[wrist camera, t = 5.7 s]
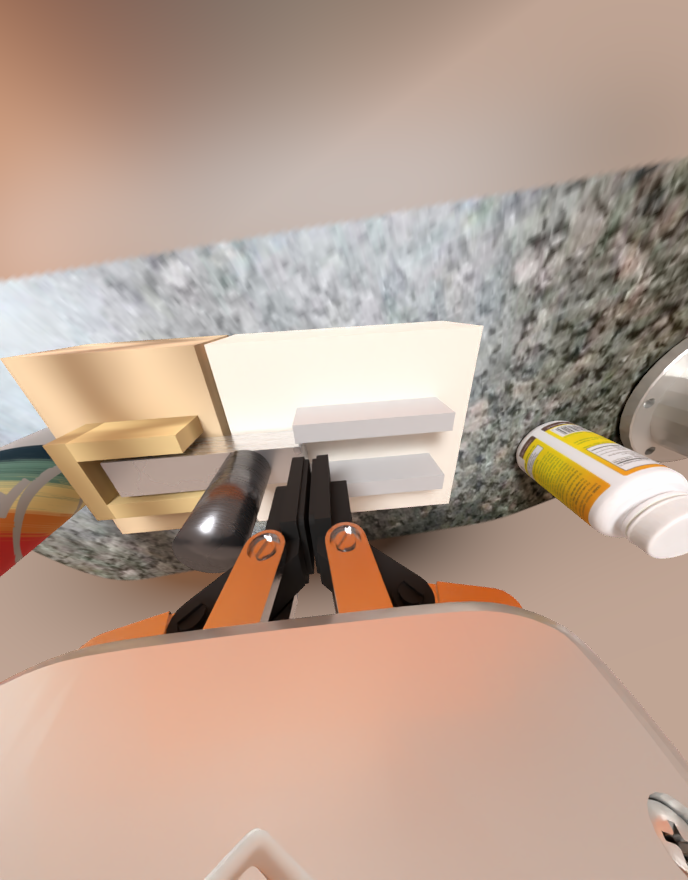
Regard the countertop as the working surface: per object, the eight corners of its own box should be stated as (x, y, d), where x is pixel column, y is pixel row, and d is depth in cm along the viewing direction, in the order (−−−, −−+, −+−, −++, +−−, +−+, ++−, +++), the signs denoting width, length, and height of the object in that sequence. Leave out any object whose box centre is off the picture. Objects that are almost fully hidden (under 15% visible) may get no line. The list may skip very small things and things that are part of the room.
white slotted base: (442, 320, 17) (515, 329, 11) (424, 465, 23) (464, 528, 16) (235, 334, 16) (178, 353, 10) (271, 478, 22) (249, 549, 16)
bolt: (304, 427, 14) (289, 518, 8) (309, 462, 16) (299, 564, 9) (127, 442, 14) (-27, 549, 8) (145, 476, 15) (24, 592, 9)
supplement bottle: (525, 480, 25) (642, 580, 16) (502, 445, 22) (623, 538, 13) (582, 446, 23) (747, 535, 14) (563, 404, 21) (744, 479, 12)
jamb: (228, 334, 16) (166, 354, 10) (265, 479, 22) (241, 550, 16) (88, 344, 16) (-71, 370, 10) (163, 488, 22) (95, 565, 15)
